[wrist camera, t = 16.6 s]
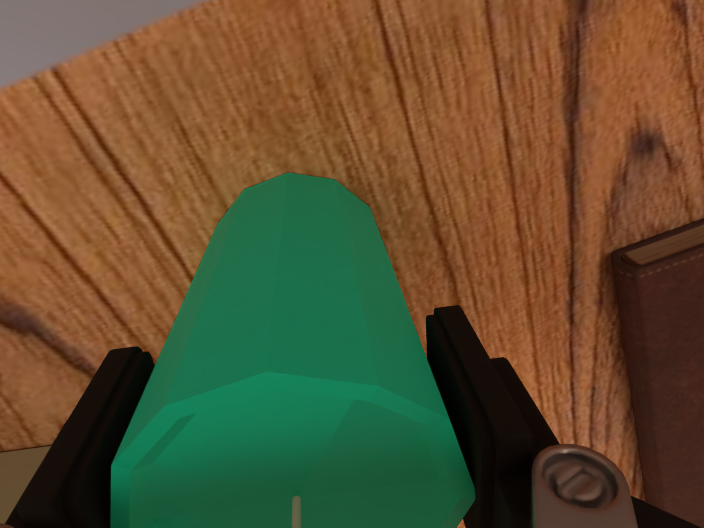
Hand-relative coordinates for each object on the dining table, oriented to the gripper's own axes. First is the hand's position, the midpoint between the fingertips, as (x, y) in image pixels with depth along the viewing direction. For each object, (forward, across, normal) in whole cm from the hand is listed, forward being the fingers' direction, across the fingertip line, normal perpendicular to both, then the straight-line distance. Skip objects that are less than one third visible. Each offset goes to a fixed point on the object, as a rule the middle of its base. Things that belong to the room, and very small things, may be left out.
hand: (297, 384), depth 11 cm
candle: (+7, 0, 0) cm, 7 cm away
